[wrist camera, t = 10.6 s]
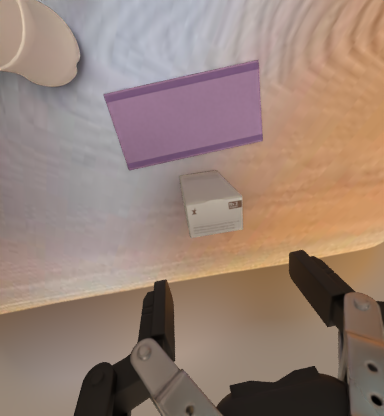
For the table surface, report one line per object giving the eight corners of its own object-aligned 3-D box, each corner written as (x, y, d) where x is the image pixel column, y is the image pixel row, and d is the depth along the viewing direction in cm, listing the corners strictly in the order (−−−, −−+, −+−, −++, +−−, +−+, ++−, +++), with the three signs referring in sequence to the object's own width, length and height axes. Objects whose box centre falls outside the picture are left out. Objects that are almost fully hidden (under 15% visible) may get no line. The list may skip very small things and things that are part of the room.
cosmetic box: (182, 200, 33) (188, 242, 22) (178, 173, 31) (182, 204, 20) (220, 194, 34) (244, 233, 23) (218, 167, 32) (243, 195, 21)
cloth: (129, 170, 31) (129, 170, 30) (104, 94, 26) (103, 94, 26) (261, 140, 31) (262, 140, 30) (257, 60, 26) (258, 59, 26)
